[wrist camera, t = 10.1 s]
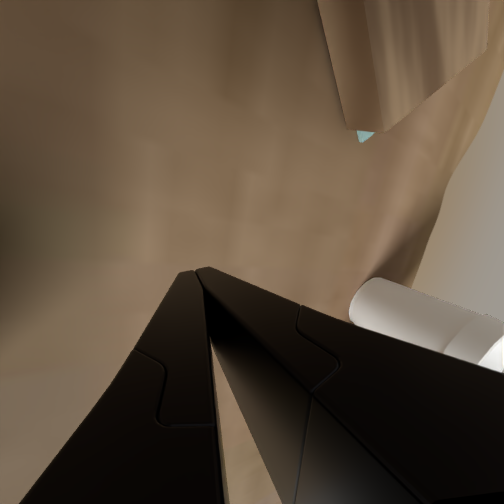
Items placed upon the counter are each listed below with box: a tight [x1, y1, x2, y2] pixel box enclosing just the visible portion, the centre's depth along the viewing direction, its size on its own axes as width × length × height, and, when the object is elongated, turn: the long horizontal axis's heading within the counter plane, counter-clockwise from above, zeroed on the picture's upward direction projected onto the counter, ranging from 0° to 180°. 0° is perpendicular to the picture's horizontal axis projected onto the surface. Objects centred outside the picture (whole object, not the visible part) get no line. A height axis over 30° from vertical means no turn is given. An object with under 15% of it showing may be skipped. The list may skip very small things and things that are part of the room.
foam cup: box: [349, 278, 504, 372], centre depth 32 cm, size 10×9×13 cm
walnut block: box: [317, 0, 490, 133], centre depth 21 cm, size 4×12×12 cm
